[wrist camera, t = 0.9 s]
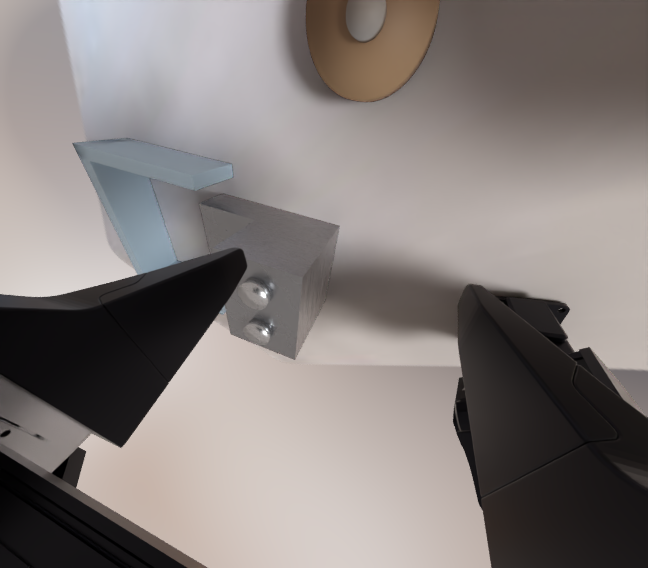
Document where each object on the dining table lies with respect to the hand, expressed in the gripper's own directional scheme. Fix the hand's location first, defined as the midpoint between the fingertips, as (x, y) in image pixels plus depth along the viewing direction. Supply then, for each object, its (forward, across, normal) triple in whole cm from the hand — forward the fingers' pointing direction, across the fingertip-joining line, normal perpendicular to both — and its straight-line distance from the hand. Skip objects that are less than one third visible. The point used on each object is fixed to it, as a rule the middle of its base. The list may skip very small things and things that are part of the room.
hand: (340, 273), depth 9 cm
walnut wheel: (+13, +2, -9) cm, 16 cm away
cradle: (+13, +22, +6) cm, 26 cm away
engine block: (+13, +11, +8) cm, 18 cm away
